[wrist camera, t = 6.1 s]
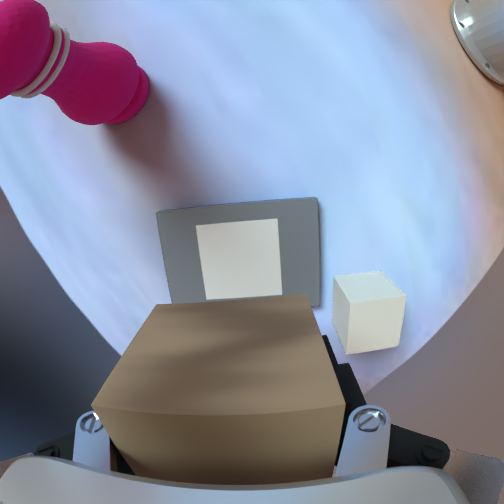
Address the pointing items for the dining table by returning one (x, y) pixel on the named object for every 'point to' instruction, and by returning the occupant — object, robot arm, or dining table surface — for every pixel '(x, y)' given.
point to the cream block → (367, 311)
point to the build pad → (242, 250)
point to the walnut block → (226, 395)
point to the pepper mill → (67, 67)
